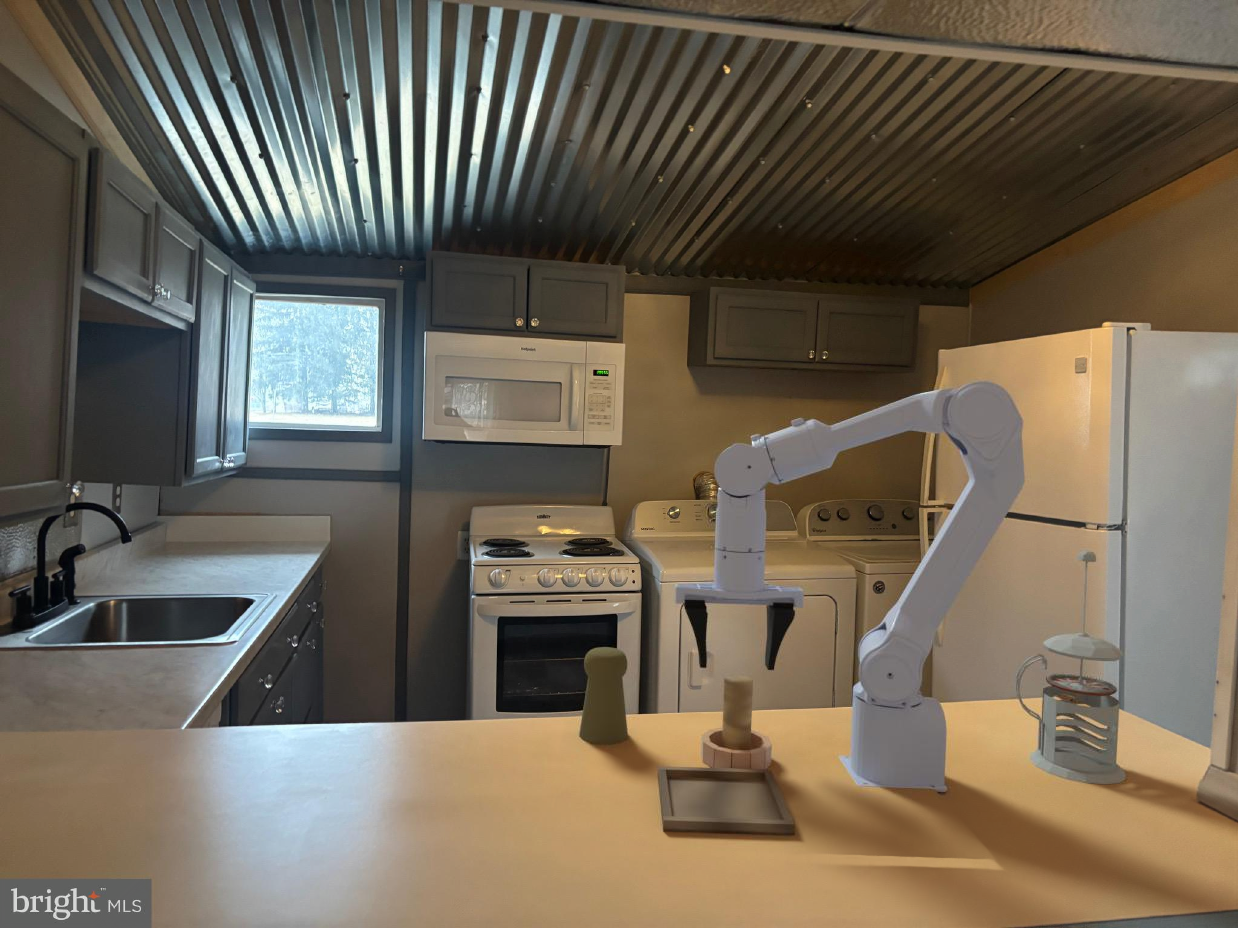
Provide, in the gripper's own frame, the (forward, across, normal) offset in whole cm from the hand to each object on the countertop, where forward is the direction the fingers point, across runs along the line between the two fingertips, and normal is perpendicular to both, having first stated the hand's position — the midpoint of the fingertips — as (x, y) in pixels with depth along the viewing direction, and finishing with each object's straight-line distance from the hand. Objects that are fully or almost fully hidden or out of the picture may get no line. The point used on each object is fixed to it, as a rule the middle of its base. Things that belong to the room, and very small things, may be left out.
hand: (736, 666), depth 93 cm
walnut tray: (+10, +3, +14) cm, 17 cm away
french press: (+11, -39, -1) cm, 40 cm away
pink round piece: (+10, 0, +2) cm, 11 cm away
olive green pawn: (+10, +15, -3) cm, 19 cm away
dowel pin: (+10, 0, +2) cm, 10 cm away
